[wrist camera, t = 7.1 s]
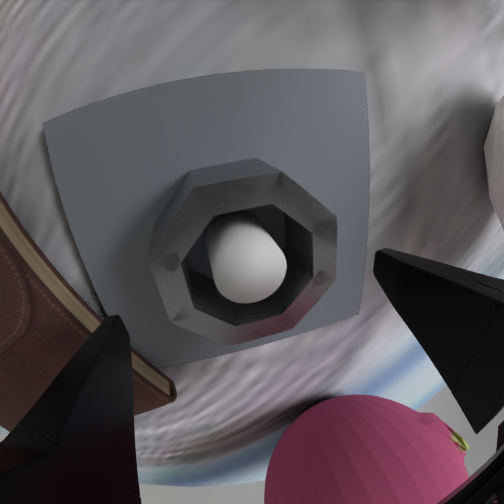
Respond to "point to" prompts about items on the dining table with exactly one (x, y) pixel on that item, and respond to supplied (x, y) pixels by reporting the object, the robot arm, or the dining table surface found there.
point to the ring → (296, 251)
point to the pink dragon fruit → (365, 455)
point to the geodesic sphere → (496, 160)
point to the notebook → (48, 329)
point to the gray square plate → (224, 225)
